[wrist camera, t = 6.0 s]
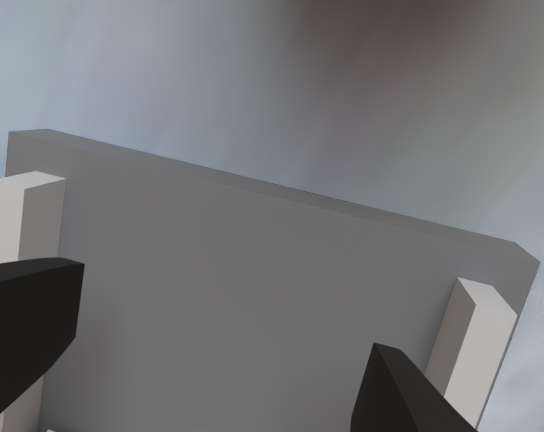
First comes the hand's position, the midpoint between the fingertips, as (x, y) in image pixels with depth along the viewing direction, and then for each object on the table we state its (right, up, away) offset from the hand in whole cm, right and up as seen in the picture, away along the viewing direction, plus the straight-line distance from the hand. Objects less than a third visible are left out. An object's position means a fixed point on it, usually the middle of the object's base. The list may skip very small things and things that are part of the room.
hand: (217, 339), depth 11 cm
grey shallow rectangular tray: (-1, -5, +7) cm, 9 cm away
